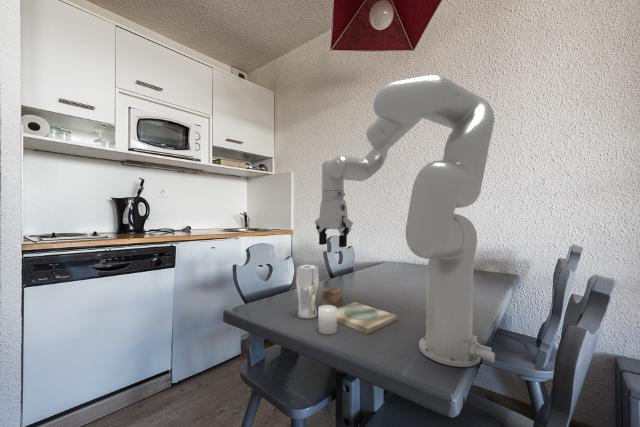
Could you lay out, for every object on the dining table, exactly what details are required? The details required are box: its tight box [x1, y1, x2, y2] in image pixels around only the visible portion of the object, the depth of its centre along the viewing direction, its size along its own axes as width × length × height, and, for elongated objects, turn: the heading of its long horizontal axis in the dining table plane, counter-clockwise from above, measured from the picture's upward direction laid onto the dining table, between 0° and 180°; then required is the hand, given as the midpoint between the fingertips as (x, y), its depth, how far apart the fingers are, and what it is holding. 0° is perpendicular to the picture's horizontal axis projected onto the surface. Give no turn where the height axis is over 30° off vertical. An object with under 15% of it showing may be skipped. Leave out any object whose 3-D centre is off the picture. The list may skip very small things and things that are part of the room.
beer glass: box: [295, 264, 320, 320], centre depth 84 cm, size 7×7×15 cm
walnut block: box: [321, 286, 343, 308], centre depth 95 cm, size 5×5×5 cm
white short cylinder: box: [317, 304, 338, 335], centre depth 73 cm, size 5×5×6 cm
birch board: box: [337, 301, 398, 335], centre depth 82 cm, size 16×14×2 cm
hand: (332, 245), depth 95 cm, fingers open, 9 cm apart
